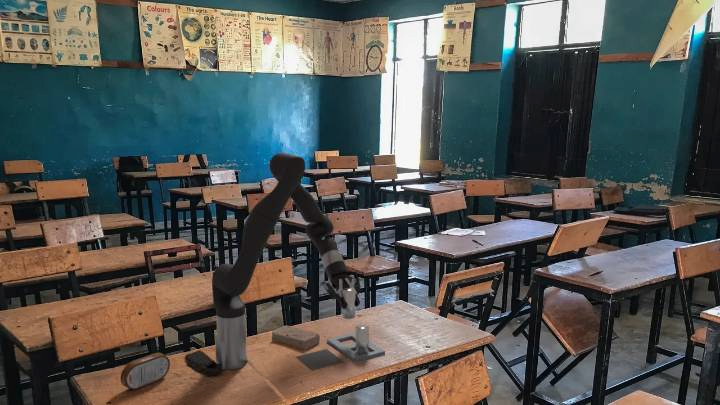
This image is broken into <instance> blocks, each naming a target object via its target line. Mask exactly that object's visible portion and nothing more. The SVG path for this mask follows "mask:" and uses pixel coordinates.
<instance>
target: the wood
mask: <svg viewBox="0 0 720 405" xmlns="http://www.w3.org/2000/svg"><path fill="white" fill-rule="evenodd" d="M185 358H186V359H187V362H186V366H188V367H189V368H191V369H192V370H193V371H194V372H197V373H201V374H202V375H204V377H209V378H212V377H219V376H220V375H221V368H222V366H221V365H219V364H217V363H216V360H214V359H212V358H210V356H208V355H207V353H204V352H203V351H202V350H200V349H199V350H196V351H194V352H191V353H187V354H185Z"/></svg>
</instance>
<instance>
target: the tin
mask: <svg viewBox="0 0 720 405" xmlns="http://www.w3.org/2000/svg"><path fill="white" fill-rule="evenodd" d="M170 364H171V361H170V359H169V357H168V356H166V355H165V354H164V353H162V352H155V353H152V354H149V355H146V356H143V357H140V358H137V359H134V360H132V361H130V362H128V363H127V364H126V365H125V366H124V367H123V369H122V371H121V373H120V383H121V385H122V386H124V387H125V388H126V389H129V390H133V389H134V390H138V389H140V388H139V387H141V388H143V387H145V385H146V386H149V385H150V384H154V383H156V382H158V381H160V380H162V379H164V378H165V377H166V375H167V374H168V373H169V371H170V366H171V365H170ZM153 382H154V383H153ZM142 386H143V387H142ZM137 388H138V389H137Z"/></svg>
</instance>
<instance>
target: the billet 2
mask: <svg viewBox="0 0 720 405" xmlns="http://www.w3.org/2000/svg"><path fill="white" fill-rule="evenodd" d="M355 333H356V341H355V343H356V350H355V353H357V354H358V355H362V354H366V353H370V350H369V341H370V327H369V326H368V325H365V324H359V325H356V326H355Z"/></svg>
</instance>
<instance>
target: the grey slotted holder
mask: <svg viewBox="0 0 720 405" xmlns="http://www.w3.org/2000/svg"><path fill="white" fill-rule="evenodd" d="M351 339H352V340H353V341H355V342H354V343H351V344H347V345H345V344H344V343H342V342H344V341H347V340H351ZM326 342H327V343H328V344H329V345H330V346H332V347H333V348H335V349H336V350H338V351H339V352H340V353H342V354H343V355H344V356H346V357H347V358H348V359H350V360H352V361H353V362H354V363H358V362H361V361H364V360H367V359H372V358H376V357H380V356H384V357H386V351H385V350H384V349H382V348H381V347H379V346H377V345H376V344H375V343H373V342H371V341H370V340H369V353H366V354H362V355H358V354H357V353H356V332H353V333H349V334H344V335H340V336H336V337H332V338H328V339H327V340H326Z"/></svg>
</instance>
